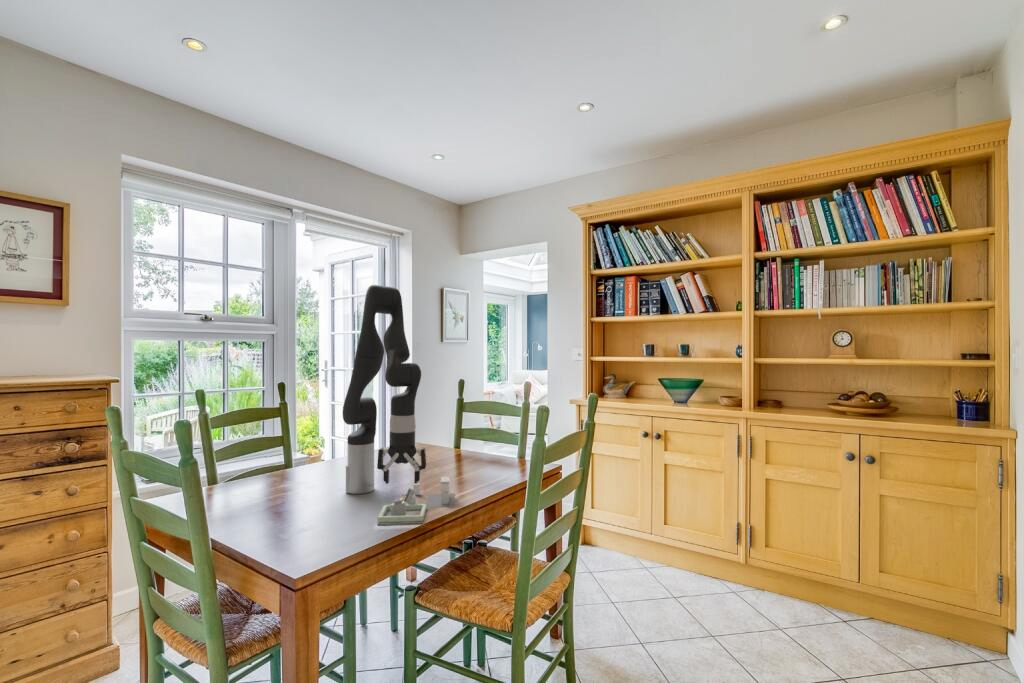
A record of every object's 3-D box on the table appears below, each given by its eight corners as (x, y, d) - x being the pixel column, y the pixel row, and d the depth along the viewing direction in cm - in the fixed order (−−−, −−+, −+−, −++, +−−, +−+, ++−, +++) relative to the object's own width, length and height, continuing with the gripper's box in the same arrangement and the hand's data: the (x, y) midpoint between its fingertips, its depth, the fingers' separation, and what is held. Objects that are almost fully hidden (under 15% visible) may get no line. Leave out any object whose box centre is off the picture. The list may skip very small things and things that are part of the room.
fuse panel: (395, 512, 153) (395, 496, 153) (402, 498, 167) (402, 484, 167) (453, 510, 154) (453, 495, 154) (455, 496, 168) (455, 482, 168)
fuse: (440, 503, 158) (440, 481, 158) (441, 497, 164) (441, 476, 164) (448, 502, 158) (449, 481, 158) (449, 497, 164) (449, 476, 164)
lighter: (392, 519, 145) (392, 492, 145) (390, 518, 146) (390, 491, 146) (415, 515, 149) (415, 488, 149) (412, 513, 150) (412, 487, 150)
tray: (377, 526, 141) (377, 517, 141) (384, 513, 152) (384, 505, 152) (422, 524, 142) (422, 516, 142) (426, 511, 153) (426, 503, 153)
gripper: (376, 431, 143) (375, 486, 143) (425, 431, 144) (424, 486, 144) (380, 427, 150) (380, 479, 151) (427, 427, 152) (426, 479, 152)
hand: (401, 482), depth 147 cm, fingers open, 8 cm apart
